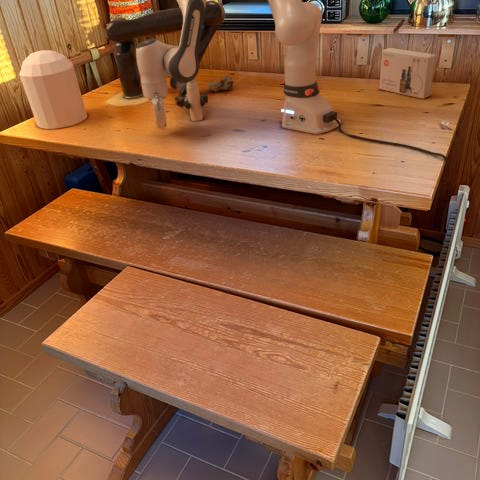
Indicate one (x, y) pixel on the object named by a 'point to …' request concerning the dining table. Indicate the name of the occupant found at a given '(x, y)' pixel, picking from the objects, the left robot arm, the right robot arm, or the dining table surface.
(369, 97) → the dining table surface
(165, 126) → the cap
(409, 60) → the skincare box
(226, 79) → the rock
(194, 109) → the bottle
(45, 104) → the container
